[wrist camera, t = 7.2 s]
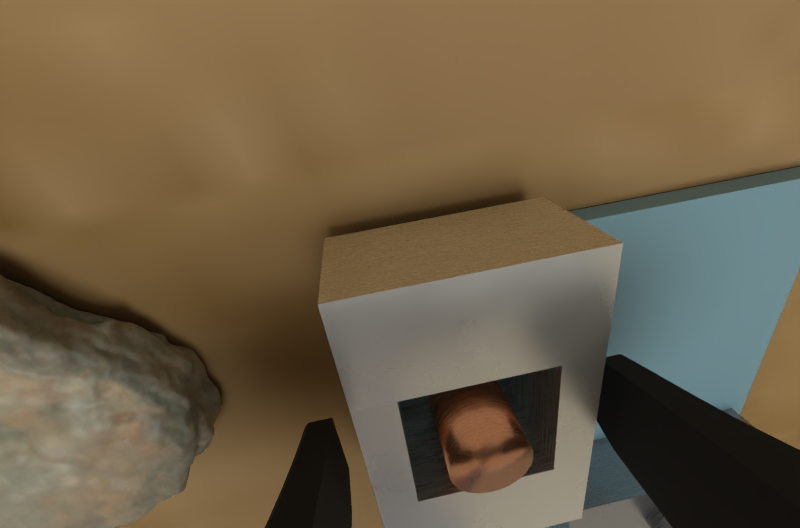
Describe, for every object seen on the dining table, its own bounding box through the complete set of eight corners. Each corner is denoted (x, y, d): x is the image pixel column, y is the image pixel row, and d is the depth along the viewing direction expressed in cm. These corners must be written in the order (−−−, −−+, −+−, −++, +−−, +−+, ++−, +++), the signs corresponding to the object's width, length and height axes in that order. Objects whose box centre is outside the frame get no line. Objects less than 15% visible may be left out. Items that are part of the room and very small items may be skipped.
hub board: (689, 484, 18) (704, 501, 18) (416, 552, 18) (419, 572, 17) (807, 165, 11) (839, 171, 10) (344, 254, 10) (345, 268, 9)
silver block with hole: (542, 196, 9) (623, 243, 7) (534, 431, 13) (581, 518, 11) (324, 238, 9) (317, 304, 6) (384, 466, 13) (395, 564, 10)
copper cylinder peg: (484, 381, 12) (532, 482, 9) (424, 394, 12) (452, 501, 9) (481, 332, 11) (534, 427, 8) (416, 345, 11) (445, 447, 8)
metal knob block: (696, 442, 17) (823, 572, 12) (528, 483, 16) (598, 633, 12) (713, 393, 15) (865, 520, 11) (529, 435, 15) (610, 587, 10)
